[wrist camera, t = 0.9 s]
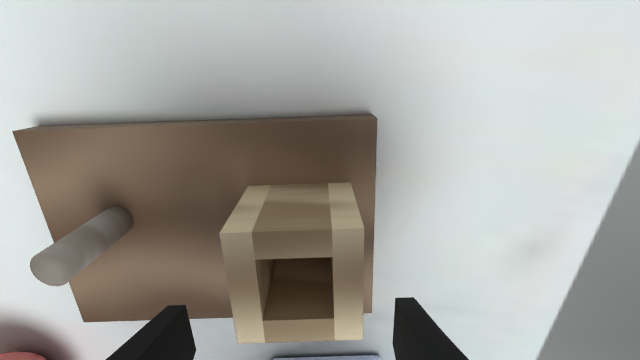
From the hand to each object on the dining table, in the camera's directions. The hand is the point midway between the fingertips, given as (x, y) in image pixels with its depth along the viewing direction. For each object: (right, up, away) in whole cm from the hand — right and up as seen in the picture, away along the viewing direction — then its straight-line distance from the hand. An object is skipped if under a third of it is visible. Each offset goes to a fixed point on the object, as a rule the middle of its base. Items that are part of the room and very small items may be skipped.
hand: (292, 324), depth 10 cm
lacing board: (-5, +3, +8) cm, 10 cm away
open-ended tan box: (0, +2, +6) cm, 7 cm away
